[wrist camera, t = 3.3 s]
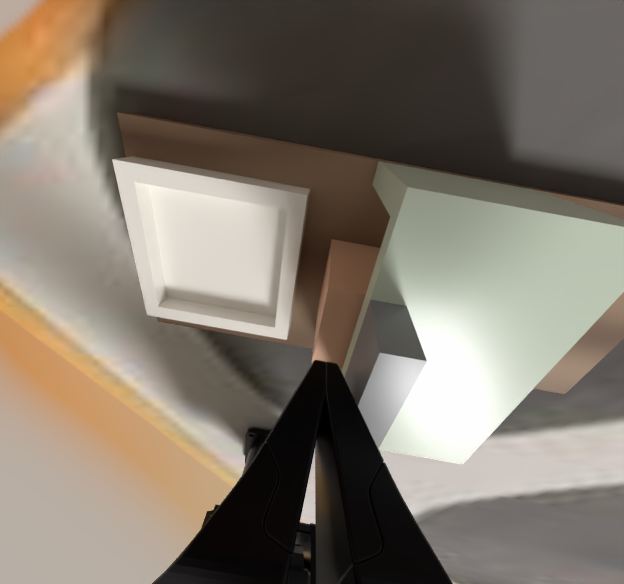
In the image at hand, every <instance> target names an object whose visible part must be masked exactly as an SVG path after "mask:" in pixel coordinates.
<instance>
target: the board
mask: <svg viewBox="0 0 624 584" xmlns="http://www.w3.org/2000/svg"><path fill="white" fill-rule="evenodd" d="M117 116H118V122H119V127H120V132H121V137H122V142H123V147H124V152H125V157H131V156H135V157H141V158H146V159H152V160H157V161H163V162H168V163H173V164H179V165H184V166H190V167H195V168H201V169H206V170H211V171H217V172H222V173H228V174H233V175H239V176H244V177H249V178H255V179H260V180H266V181H271V182H277V183H282V184H288V185H293V186H298V187H304V188H309V189H310V195H309V202H308V208H307V215H306V222H305V229H304V236H303V243H302V250H301V256H300V263H299V270H298V277H297V284H296V291H295V298H294V304H293V311H292V318H291V325H290V329H289V333H288V337H287V340H284V339H278V338H272V337H267V336H261V335H256V334H250V333H244V332H239V331H233V330H228V329H222V328H217V327H211V326H205V325H200V324H194V323H189V322H183V321H177V320H172V319H166V318H161V317H157V319H158V321H159V322H165V323H170V324H176V325H182V326H187V327H193V328H198V329H204V330H210V331H215V332H221V333H226V334H232V335H238V336H243V337H249V338H254V339H260V340H266V341H271V342H277V343H282V344H288V345H293V346H299V347H305V348H310V349H313V347H314V339H315V330H316V322H317V313H318V305H319V298H320V294H321V289H322V284H323V279H324V274H325V269H326V265H327V260H328V255H329V250H330V245H331V240H332V239H334V240H339V241H345V242H350V243H356V244H361V245H367V246H372V247H378V248H381V245H382V242H383V238H384V235H385V232H386V229H387V226H388V223H389V219H390V215H389V213H388V211H387V210H386V208H385V206H384V204H383V203H382V201H381V199H380V197H379V195H378V194H377V192H376V190H375V188H374V186H373V185H372V184H373V180H374V177H375V173H376V169H377V165H378V161H382V162H387V163H392V164H398V165H403V166H409V167H414V168H419V169H425V170H430V171H436V172H441V173H446V174H452V175H457V176H463V177H468V178H473V179H479V180H484V181H490V182H495V183H500V184H506V185H511V186H517V187H522V188H527V189H533V190H536V191H539V192H542V193H545V194H548V195H551V196H554V197H557V198H560V199H563V200H566V201H569V202H572V203H575V204H578V205H581V206H584V207H587V208H590V209H593V210H597V211H600V212H603V213H606V214H609V215H612V216H615V217H618V218H621V219H624V204H621V203H616V202H610V201H605V200H599V199H594V198H589V197H583V196H578V195H572V194H567V193H562V192H556V191H551V190H545V189H540V188H535V187H529V186H524V185H518V184H513V183H508V182H502V181H497V180H491V179H486V178H481V177H475V176H470V175H464V174H459V173H454V172H448V171H443V170H437V169H432V168H427V167H421V166H416V165H410V164H405V163H400V162H394V161H389V160H383V159H378V158H373V157H367V156H362V155H356V154H351V153H346V152H340V151H335V150H329V149H324V148H319V147H313V146H308V145H302V144H297V143H292V142H286V141H281V140H275V139H270V138H265V137H259V136H254V135H249V134H243V133H238V132H232V131H227V130H222V129H216V128H211V127H205V126H200V125H195V124H189V123H184V122H178V121H173V120H168V119H162V118H157V117H151V116H146V115H141V114H135V113H121V112H117ZM623 338H624V292H623V293H622V294H621V295H620V296H619V298H618V299H617V300H616V301H615V302H614V303H613V304H612V305H611V306H610V307H609V308H608V309H607V310H606V311H605V312H604V314H603V315H602V316H601V317H600V318H599V319H598V320H597V321H596V322H595V323H594V324H593V325H592V326H591V327H590V329H589V330H588V331H587V332H586V333H585V334H584V335H583V336H582V337H581V338H580V339H579V340H578V341H577V342H576V344H575V345H574V346H573V347H572V348H571V349H570V350H569V351H568V352H567V353H566V354H565V355H564V356H563V357H562V358H561V360H560V361H559V362H558V363H557V364H556V365H555V366H554V367H553V368H552V369H551V370H550V371H549V372H548V373H547V375H546V376H545V377H544V378H543V379H542V380H541V381H540V382H539V383H538V384H537V385H536V386H535V387H534V389H539V390H545V391H551V392H556V393H562V394H566V393H567V392H568V391H569V390H570V389H571V388H572V387H573V386H574V385H575V384H576V383H577V382H578V381H579V380H580V379H581V378H582V377H583V376H584V375H585V374H587V373H588V372H589V371H590V370H591V369H592V368H593V367H594V366H595V365H596V364H597V363H598V362H599V361H600V360H601V359H602V358H603V357H604V356H605V355H607V354H608V353H609V352H610V351H611V350H612V349H613V348H614V347H615V346H616V345H617V344H618V343H619V342H620V341H621V340H622V339H623Z"/></svg>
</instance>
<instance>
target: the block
mask: <svg viewBox="0 0 624 584" xmlns="http://www.w3.org/2000/svg"><path fill="white" fill-rule="evenodd" d="M379 251H380V248H378V247H372V246H367V245H361V244H356V243H350V242H345V241H339V240H334V239H332V240H331V245H330V250H329V255H328V260H327V265H326V269H325V274H324V279H323V284H322V289H321V294H320V298H319V305H318V313H317V322H316V330H315V339H314V347H313V356H312V363H313V361H314V360H321V361H325V362H333V363H337V364H338V366H339V368H343V365H344V361H345V358H346V355H347V352H348V349H349V346H350V342H351V339H352V336H353V333H354V330H355V327H356V324H357V320H358V317H359V314H360V311H361V308H362V305H363V301H364V298H365V295H366V292H367V289H368V286H369V283H370V279H371V276H372V273H373V270H374V267H375V264H376V260H377V257H378V254H379Z"/></svg>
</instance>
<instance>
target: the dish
mask: <svg viewBox="0 0 624 584" xmlns="http://www.w3.org/2000/svg"><path fill="white" fill-rule="evenodd" d="M112 161H113V165H114V170H115V174H116V178H117V183H118V187H119V192H120V196H121V201H122V205H123V210H124V214H125V219H126V223H127V228H128V232H129V237H130V241H131V246H132V250H133V255H134V259H135V264H136V268H137V273H138V277H139V282H140V286H141V291H142V295H143V300H144V304H145V309H146V313H147V315H150V316H155V317H161V318H166V319H172V320H177V321H183V322H189V323H194V324H200V325H205V326H211V327H217V328H222V329H228V330H233V331H239V332H244V333H250V334H256V335H261V336H267V337H272V338H278V339H284V340H287V337H288V333H289V329H290V325H291V318H292V311H293V304H294V298H295V291H296V284H297V277H298V270H299V263H300V256H301V250H302V243H303V236H304V229H305V222H306V215H307V208H308V202H309V195H310V189H309V188H304V187H298V186H293V185H288V184H282V183H277V182H271V181H266V180H260V179H255V178H249V177H244V176H239V175H233V174H228V173H222V172H217V171H211V170H206V169H201V168H195V167H190V166H184V165H179V164H173V163H168V162H163V161H157V160H152V159H146V158H141V157H135V156H131V157H124V158H117V159H112Z"/></svg>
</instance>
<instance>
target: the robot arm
mask: <svg viewBox="0 0 624 584" xmlns="http://www.w3.org/2000/svg"><path fill="white" fill-rule="evenodd" d="M314 449H315V478H316V524H312V523H310V524H305V523H300V518H301V513H302V508H303V503H304V498H305V493H306V488H307V483H308V479H309V474H310V469H311V464H312V459H313V454H314ZM383 461H384V460H383V458H382V456H381V453H380V451H379V449H378V447H377V445H376V443H375V441H374V439H373V437H372V435H371V433H370V430H369V428H368V426H367V424H366V422H365V420H364V418H363V416H362V414H361V412H360V410H359V407H358V405H357V403H356V401H355V399H354V397H353V395H352V393H351V391H350V389H349V386H348V384H347V382H346V380H345V378H344V376H343V374H342V372H341V370H340V368H339V366H338V364H337V363H333V362H325V361H321V360H314V361H313V363H312V364H311V366H310V368H309V369H308V371H307V373H306V374H305V376H304V378H303V379H302V381H301V383H300V384H299V386H298V387H297V389H296V391H295V392H294V394H293V396H292V397H291V399H290V401H289V402H288V404H287V406H286V407H285V409H284V410H283V412H282V414H281V415H280V417H279V419H278V420H277V422H276V424H275V425H274V427H273V429H272V430H271V432H269V431H264V430H258V429H251V428H250V429H248V430H247V434H246V452H245V463H246V464H245V467H244V471H243V474H242V477H241V478H240V479H239V481H238V482H237V484H236V485H235V486H234V488H233V489H232V490H231V492H230V493H229V494H228V495H227V497H226V498H225V499H224V501H223V502H222V503H221V505H215V508H214V510H212V511H207V514H206V517H205V519H204V523H203V525H202V528H201V530H200V531H199V533H198V534H197V535H196V536H195V538H194V539H193V540H192V541H191V542H190V544H189V545H188V546H187V547H186V548H185V550H184V551H183V552H182V553H181V554H180V556H179V557H178V558H177V559H176V560H175V561H174V562H173V563H172V564H171V565H170V567H169V568H168V569H167V570H166V571H165V572H164V573H163V574H162V575H161V576H160V577H158V578H157V579H156V580H155V581H154V582H153V583H152V584H453V583H452V582H451V580H450V578H449V576H448V575H447V573H446V571H445V570H444V568H443V566H442V565H441V563H440V561H439V560H438V558H437V556H436V555H435V553H434V551H433V549H432V548H431V546H430V544H429V543H428V541H427V539H426V538H425V536H424V534H423V533H422V531H421V529H420V528H419V526H418V524H417V523H416V521H415V519H414V517H413V516H412V514H411V512H410V510H409V508H408V507H407V505H406V503H405V501H404V500H403V498H402V496H401V494H400V492H399V490H398V488H397V486H396V484H395V482H394V480H393V478H392V476H391V474H390V472H389V470H388V468H387V466H386V464H385V463H384V462H383Z"/></svg>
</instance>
